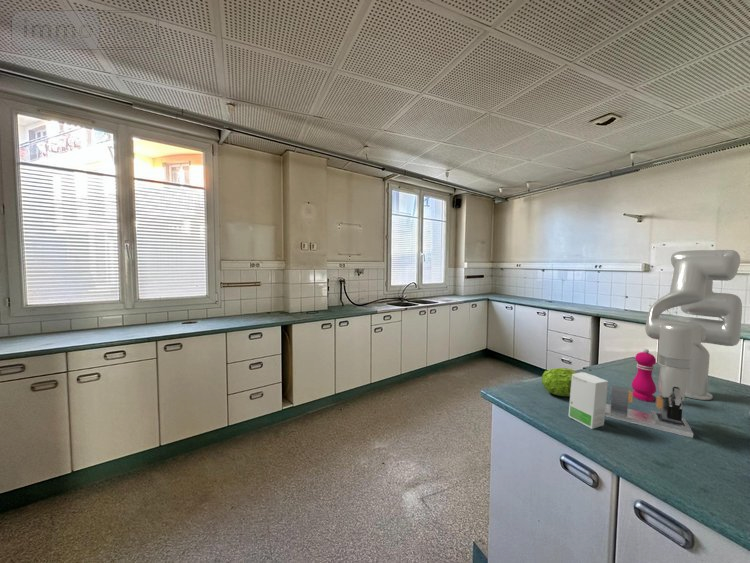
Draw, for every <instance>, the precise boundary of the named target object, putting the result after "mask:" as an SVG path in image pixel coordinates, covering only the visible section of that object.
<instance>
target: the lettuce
mask: <svg viewBox="0 0 750 563" xmlns="http://www.w3.org/2000/svg"><path fill="white" fill-rule="evenodd" d="M576 373H578V371H577V372H576V370H573V369H571V368H567V367H559V368H556V367H554V368H551V369H547V370H544V372H543V374H541V383H542V386H543V388H544V389H545V390H546V391H547V393H549V394H552V395H555V396H559V397H570V392H571V380H572V374H576Z"/></svg>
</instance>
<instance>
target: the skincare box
mask: <svg viewBox="0 0 750 563" xmlns="http://www.w3.org/2000/svg"><path fill="white" fill-rule="evenodd" d="M608 388H609V381H608V380H606V379H605V378H602V377H598V376H597V375H594V374H590V373H588V372H584V371H581V372H577V373H576V374H572V380H571V392H570V396H569V404H568V406H569V407H568V417H569V418H570V419H572V420H574V421H575V422H578V423H579V424H581V425H584V426H586V427H587V428H589V429H591V430H593V429H597V428H599V427H600V428H601V427H604V425H605V417H606V416H605V409H606V404H607V396H608Z"/></svg>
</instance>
